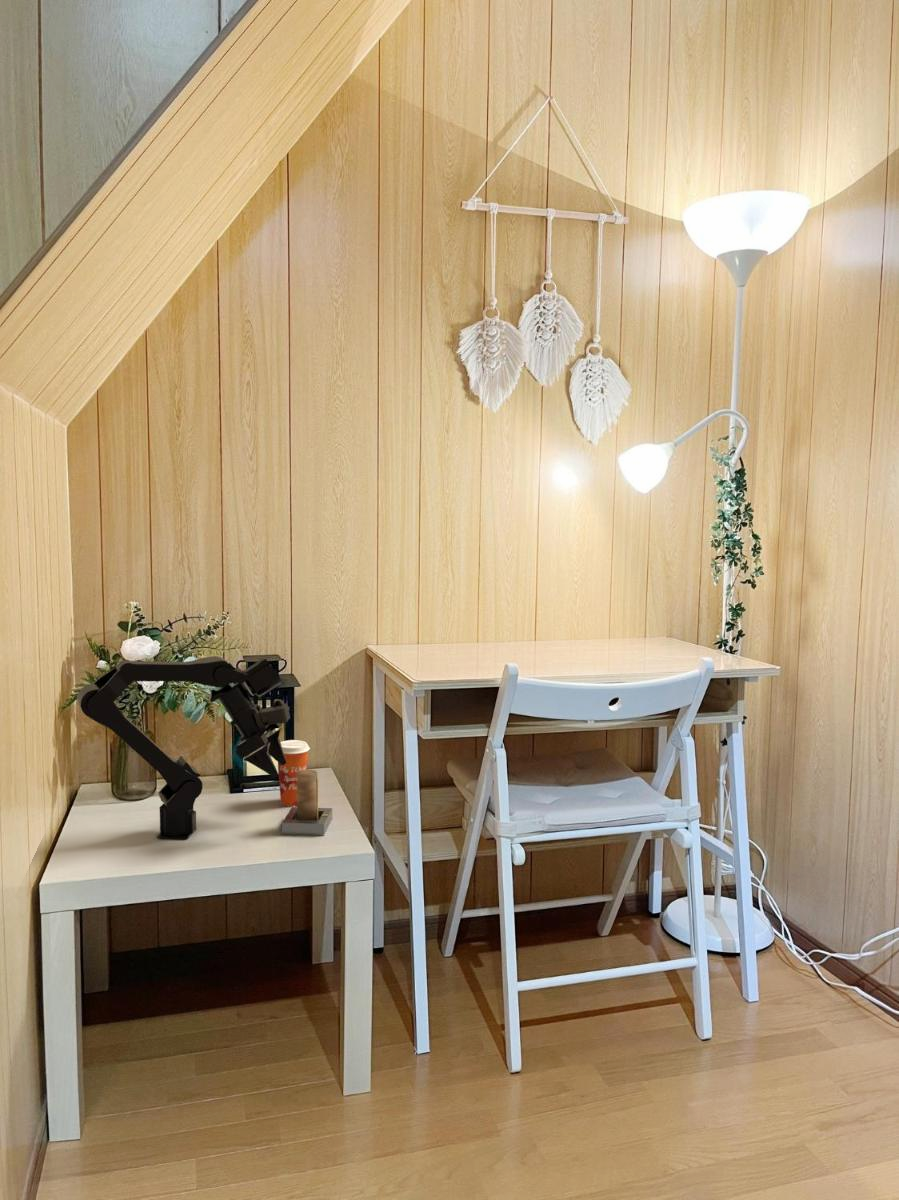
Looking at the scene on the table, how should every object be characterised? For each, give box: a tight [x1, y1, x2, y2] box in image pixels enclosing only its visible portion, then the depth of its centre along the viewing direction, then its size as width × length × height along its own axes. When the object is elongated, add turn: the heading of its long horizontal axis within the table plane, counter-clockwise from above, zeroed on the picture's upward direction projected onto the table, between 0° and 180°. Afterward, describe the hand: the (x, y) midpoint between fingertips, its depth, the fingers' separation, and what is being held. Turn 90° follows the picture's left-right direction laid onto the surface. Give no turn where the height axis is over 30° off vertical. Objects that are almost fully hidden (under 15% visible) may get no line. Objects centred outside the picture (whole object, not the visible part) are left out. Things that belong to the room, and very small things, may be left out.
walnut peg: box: [296, 769, 319, 821], centre depth 203 cm, size 4×4×12 cm
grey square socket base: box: [281, 806, 333, 836], centre depth 204 cm, size 9×10×3 cm
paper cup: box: [277, 739, 311, 807], centre depth 219 cm, size 8×8×14 cm
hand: (280, 769), depth 202 cm, fingers open, 9 cm apart
